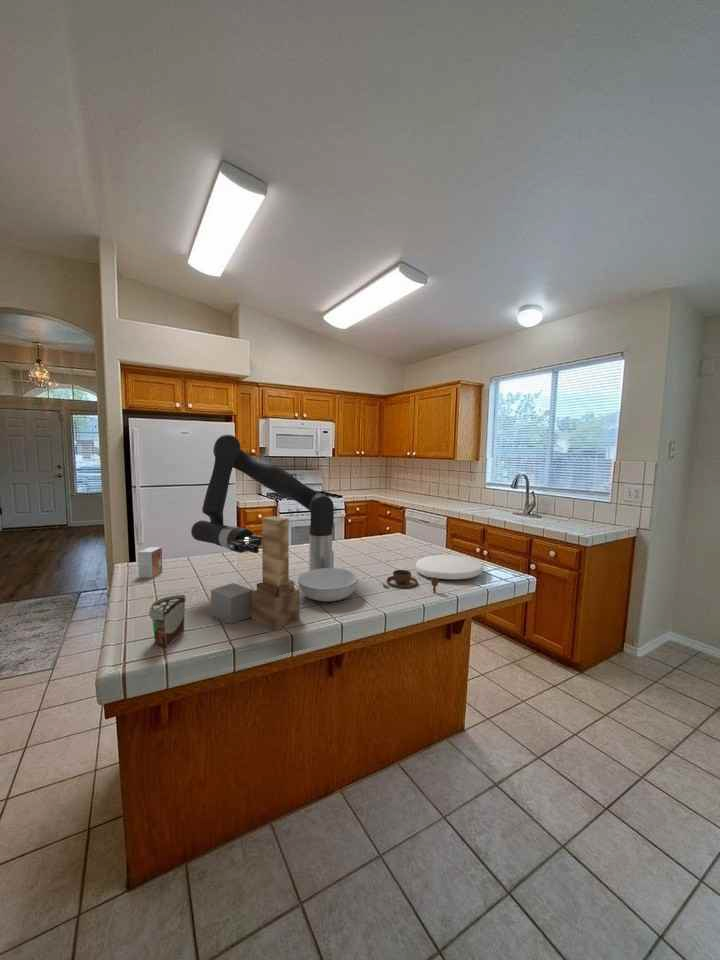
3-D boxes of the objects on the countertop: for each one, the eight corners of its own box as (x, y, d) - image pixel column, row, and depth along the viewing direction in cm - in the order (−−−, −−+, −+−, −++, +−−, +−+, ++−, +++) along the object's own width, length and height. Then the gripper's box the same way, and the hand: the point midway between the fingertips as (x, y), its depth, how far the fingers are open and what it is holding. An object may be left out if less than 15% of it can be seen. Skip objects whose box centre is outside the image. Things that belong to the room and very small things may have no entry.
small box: (152, 578, 152) (151, 552, 151) (138, 578, 152) (137, 551, 151) (163, 571, 160) (162, 547, 159) (149, 571, 160) (148, 546, 159)
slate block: (233, 606, 126) (233, 582, 125) (253, 615, 120) (253, 589, 119) (211, 615, 119) (210, 590, 119) (231, 624, 113) (230, 597, 113)
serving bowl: (292, 589, 142) (292, 571, 141) (346, 583, 149) (346, 565, 149) (305, 612, 122) (306, 591, 122) (366, 603, 130) (367, 583, 130)
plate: (416, 570, 151) (413, 553, 178) (417, 586, 152) (414, 566, 178) (489, 566, 148) (475, 548, 175) (490, 582, 149) (476, 562, 175)
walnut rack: (277, 610, 124) (276, 574, 123) (299, 618, 118) (299, 581, 117) (251, 621, 116) (251, 583, 115) (274, 630, 110) (273, 591, 109)
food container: (165, 627, 111) (164, 593, 110) (186, 628, 111) (185, 594, 110) (139, 649, 99) (138, 611, 98) (163, 650, 98) (162, 612, 98)
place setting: (415, 577, 159) (415, 563, 158) (441, 595, 140) (441, 579, 139) (375, 581, 153) (376, 567, 153) (396, 600, 134) (397, 584, 134)
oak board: (272, 586, 120) (272, 516, 118) (288, 591, 115) (288, 518, 114) (262, 590, 116) (262, 517, 115) (278, 595, 112) (278, 520, 111)
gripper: (216, 531, 120) (249, 538, 110) (253, 524, 131) (286, 530, 122) (216, 554, 121) (249, 564, 111) (254, 545, 132) (286, 554, 122)
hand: (269, 546), depth 116 cm, fingers open, 8 cm apart
